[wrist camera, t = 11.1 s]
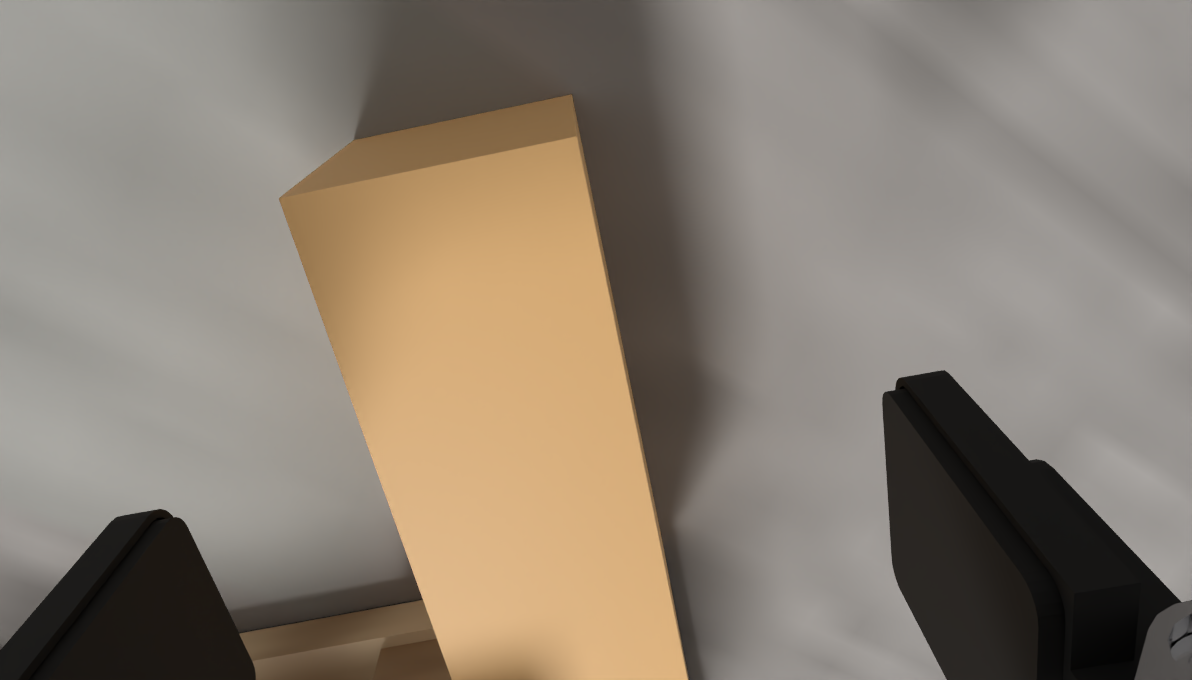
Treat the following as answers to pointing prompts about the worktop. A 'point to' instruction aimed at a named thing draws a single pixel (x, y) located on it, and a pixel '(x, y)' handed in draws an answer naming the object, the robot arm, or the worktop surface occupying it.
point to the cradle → (353, 647)
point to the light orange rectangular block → (495, 391)
